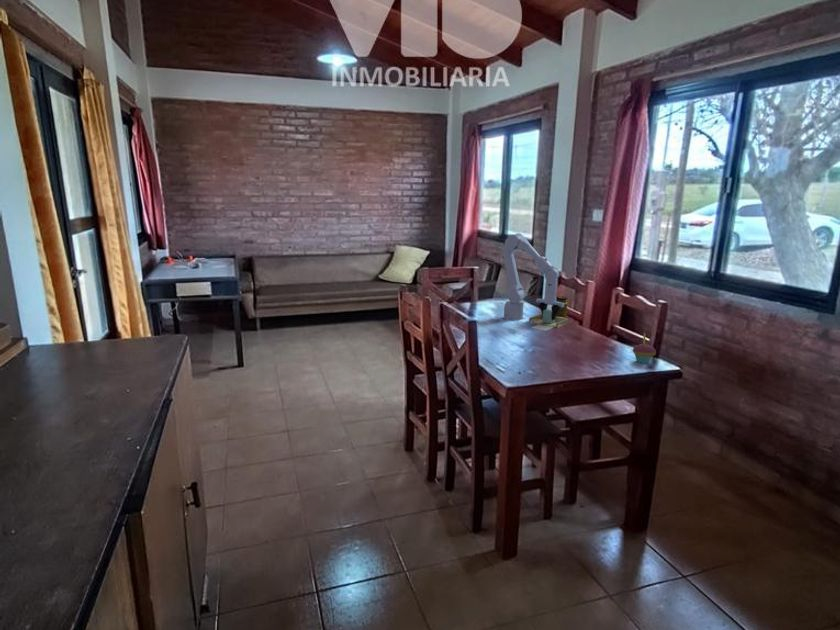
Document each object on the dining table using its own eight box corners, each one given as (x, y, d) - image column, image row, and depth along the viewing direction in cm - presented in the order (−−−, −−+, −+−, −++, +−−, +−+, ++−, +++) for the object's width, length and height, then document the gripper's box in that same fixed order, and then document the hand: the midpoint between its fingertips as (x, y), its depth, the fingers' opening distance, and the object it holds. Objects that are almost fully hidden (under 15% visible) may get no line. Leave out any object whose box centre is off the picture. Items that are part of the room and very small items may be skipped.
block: (542, 322, 260) (543, 310, 259) (546, 320, 264) (547, 308, 262) (550, 323, 258) (551, 312, 256) (554, 321, 261) (555, 310, 259)
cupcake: (628, 358, 210) (631, 329, 207) (649, 358, 210) (653, 330, 207) (636, 365, 202) (639, 335, 199) (658, 365, 202) (662, 336, 199)
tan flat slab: (529, 323, 262) (529, 317, 261) (540, 318, 271) (540, 313, 270) (558, 328, 252) (558, 323, 251) (568, 324, 261) (569, 318, 260)
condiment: (569, 319, 270) (571, 297, 267) (560, 322, 264) (562, 299, 261) (557, 317, 275) (558, 295, 272) (548, 319, 269) (550, 297, 266)
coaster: (530, 328, 251) (530, 327, 251) (538, 325, 257) (538, 324, 257) (545, 331, 246) (545, 330, 246) (553, 328, 252) (553, 327, 252)
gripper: (567, 293, 255) (565, 319, 259) (541, 289, 264) (539, 314, 268) (561, 295, 250) (559, 322, 253) (534, 291, 259) (532, 317, 263)
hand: (548, 318), depth 260 cm, fingers closed on block, 4 cm apart
